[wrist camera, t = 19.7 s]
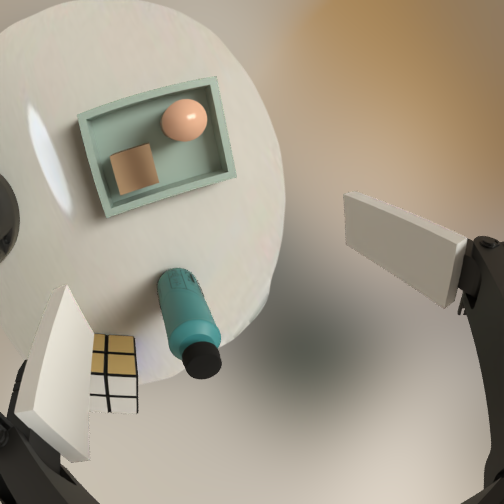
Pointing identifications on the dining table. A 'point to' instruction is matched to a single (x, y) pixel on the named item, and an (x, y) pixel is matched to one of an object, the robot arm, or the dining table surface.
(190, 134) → the peach rounded smooth part
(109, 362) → the puzzle cube
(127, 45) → the dining table surface
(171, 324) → the beverage bottle
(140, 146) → the walnut cube
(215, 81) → the tray
